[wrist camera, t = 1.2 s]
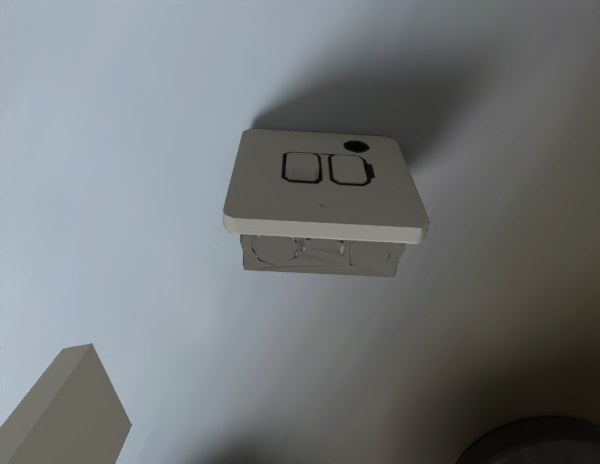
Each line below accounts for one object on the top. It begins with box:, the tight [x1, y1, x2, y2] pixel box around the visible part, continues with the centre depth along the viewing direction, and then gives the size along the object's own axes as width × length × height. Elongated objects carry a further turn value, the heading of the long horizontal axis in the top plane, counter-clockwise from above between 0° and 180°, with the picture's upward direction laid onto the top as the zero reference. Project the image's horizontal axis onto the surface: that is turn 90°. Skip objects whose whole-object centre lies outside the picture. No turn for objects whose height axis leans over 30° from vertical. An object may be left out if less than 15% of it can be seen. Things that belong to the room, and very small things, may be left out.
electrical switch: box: [223, 129, 430, 277], centre depth 23 cm, size 9×5×9 cm, turn 86°
